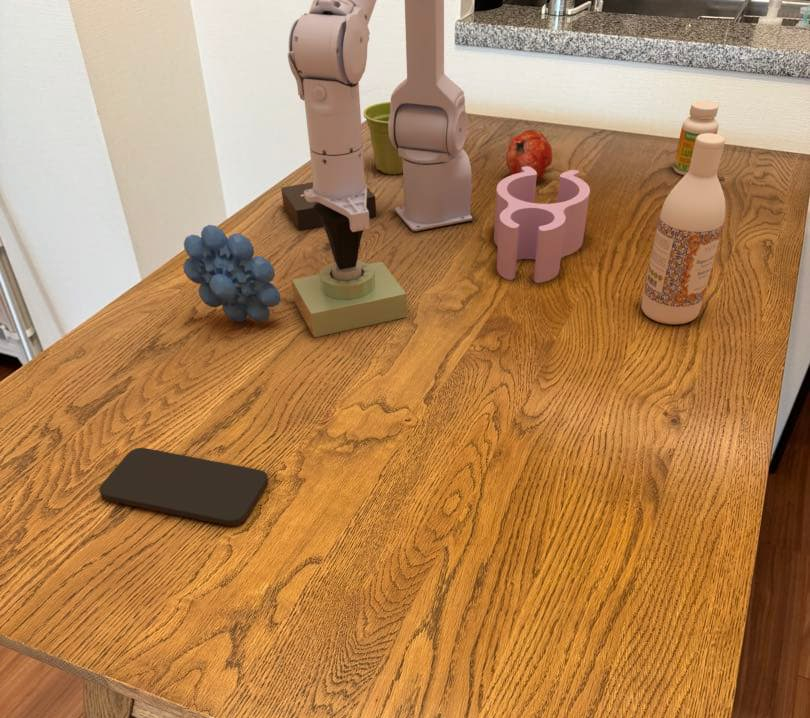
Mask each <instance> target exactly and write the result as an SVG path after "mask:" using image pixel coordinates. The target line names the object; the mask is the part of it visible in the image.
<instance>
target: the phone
mask: <svg viewBox="0 0 810 718" xmlns="http://www.w3.org/2000/svg"><path fill="white" fill-rule="evenodd" d="M268 484H269V479H268V474H267V473H266V471H264V470H261V469H256V468H252V467H246V466H240V465H236V464H231V463H225V462H220V461H215V460H209V459H204V458H200V457H194V456H188V455H184V454H179V453H173V452H167V451H162V450H157V449H152V448H146V447H137V448H134V449H131V450H130V451H129V452H128V453H127V454H126V455H125V456H124V457H123V459H122V460H121V461H120V462H119V463H118V464H117V465H116V467H115V468H114V469H113V470H112V472H111V473H110V474H109V475H108V476H107V478H106V479H104V481H103V482H102V484H100V486H99V494H100V496H101V498H102V499H103V500H105V501H109V502H114V503H118V504H123V505H128V506H133V507H138V508H143V509H148V510H151V511H157V512H162V513H165V514H166V513H167V514H171V515H176V516H180V517H185V518H191V519H194V520H199V521H204V522H211V523H214V524H219V525H224V526H229V527H234V526H239V525H241V524H242V523H244V522H245V521H246V520H247V518H248V517H249V515H250V513H251V512H252V510H253V509H254V507H255V506H256V504H257V502H258V500H259V499H260V497H262V494H263V492H264V491H265V489H266V487H267V486H268Z"/></svg>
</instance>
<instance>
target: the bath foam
mask: <svg viewBox="0 0 810 718" xmlns="http://www.w3.org/2000/svg"><path fill="white" fill-rule="evenodd" d="M725 143H726V138H725V137H724V136H723V135H721V134H718V133H717V134H713V133H705V134H700V135H698V136H697V138H696V141H695V145H694V149H693V154H692V158H691V163H690V168H689V172H688V173H687V174H686V175H685V176H684V175H683V177H682V178H681V179H680V180H679V181H678V182H677V183H676V184H675V185H674V187H673V188H672V189H671V191H670V192H669V194H668V195H667V196H666V197H665V199H664V202H663V204H662V207H661V209H660V213H659V215H658V222H657V226H656V231H655V235H654V236H655V237H654V240H653V245H652V250H651V256H650V260H649V265H648V270H647V275H646V279H645V284H644V288H643V293H642V299H641V305H640V306H641V310H642V312H643V314H644V315H645V316H646V317H647V318H649V319H651V320H652V321H655V322H658V323H660V324H666V325H684V324H687V323H689V322H692V321H694V320H695V319H697V317H698V316H699V315H700V312H701V308H702V305H703V300H704V299H705V294H706V291H707V287H708V283H709V280H710V276H711V272H712V269H713V265H714V262H715V257H716V253H717V250H718V248H719V247H718V246H719V243H720V240H721V236H722V231H723V228H724V224H725V219H726V210H727V209H726V207H727V206H726V198H725V194H724V190H723V188H722V185H721V182H720V180H719V178H718V171H719V166H720V163H721V159H722V155H723V151H724V147H725Z"/></svg>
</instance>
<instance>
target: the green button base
mask: <svg viewBox="0 0 810 718" xmlns="http://www.w3.org/2000/svg"><path fill="white" fill-rule="evenodd" d="M357 261H359V262H360V263H361V267H362V277H360V278H358V279H356V280H351V281H338V280H336V279H333V277H332V264H333V263H334V262H335V261H333V262H330V263H328V264H327V265H325V266H324V267H322V268H321V270H320V272H319V273H318V274H313V275H307V276H303V277H302V276H301V277H298V278H294V279H293V278H292V279H291V285H292V292H293V300H294V304H295V306H296V308H297V309H298V311H299V313H300V314H301V316H302V319H303V320H304V322H305V324H306V325H307V327H308V329H309V331H310V333H311V334H312V336H313V338H318V337H324V336H327V335H331V334H337V333H341V332H346V331H350V330H356V329H359V328H364V327H369V326H374V325H377V324H382V323H386V322H391V321H396V320H400V319H404V318H405V319H406V318H408V296H407V295H408V293H407V292H406V291H405V289H404V288H403V287H402V285H401V284H400V283H399V281H398V280H397V279H396V278H395V276H394V275H393V274H392V273H391V271H390V270H389V268H388V267H387V266H386V265H385V263H384V262H383V261H377V262H372V263H367V262H365V261H362V260H360V259H359V260H358V259H357Z"/></svg>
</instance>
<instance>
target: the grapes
mask: <svg viewBox="0 0 810 718" xmlns="http://www.w3.org/2000/svg"><path fill="white" fill-rule="evenodd" d="M183 248H184V251H185V252H186V254H187V256H188V258H187V259H185V260H184V262H183V265H182V269H183V273H184V274H185V276H186V278H187V279H188V280H189V281H191V282H193V283H195V284H197V285H199V287H198V290H197V291H198V295H199V297H200V299H201V300H202V302H203V303H204V304H205V305H207V306H208V307H210V308H218V307H220V306H222V311H223V313H224V315H225V316H226V318H228V319H229V320H230V321H232V322H234V323H242V322H244V321H246V320H247V318H250V319H251V320H252V321H254V322H256V323H264V322H266V321H268V320H269V318H270V316H271V313H270V308H274V307H276V306H278V305H279V304H280V303H281V293H280V292H279V289H278V288H277V286H276V285H274V284H273V283H271V282H272V281H273V280H274V278H275V275H276V274H275V268H274V266H273V265H272V263H271V261H270V260H268V259H267V258H265V257H264V256H260V255H255V250H254V246H253V244H252V242H251V240H250V239H249V238H248V237H247V236H244V234H242V233H233V234H231V235H230V236H228V237H227V235H226V233H225V232H224V230H223V229H221V228H219V227H218V226H216V225H213V224H207V225H206V226H204V227H203V228H202V230H201V232H200V235H198V234H190V235H188V236H186V237H185V239H184V241H183ZM254 255H255V256H254Z"/></svg>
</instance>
